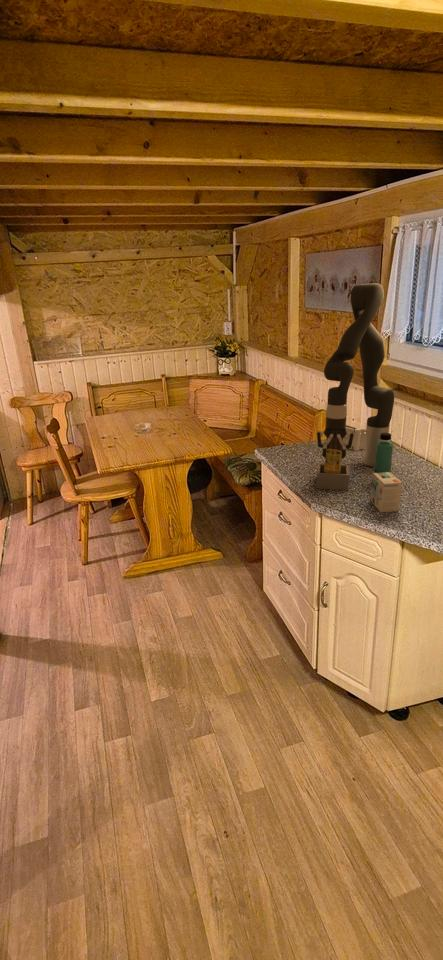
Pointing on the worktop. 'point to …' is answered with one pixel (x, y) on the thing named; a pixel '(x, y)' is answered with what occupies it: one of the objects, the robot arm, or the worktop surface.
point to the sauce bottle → (333, 455)
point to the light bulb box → (385, 491)
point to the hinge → (356, 437)
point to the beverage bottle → (383, 454)
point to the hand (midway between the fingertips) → (333, 457)
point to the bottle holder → (333, 478)
